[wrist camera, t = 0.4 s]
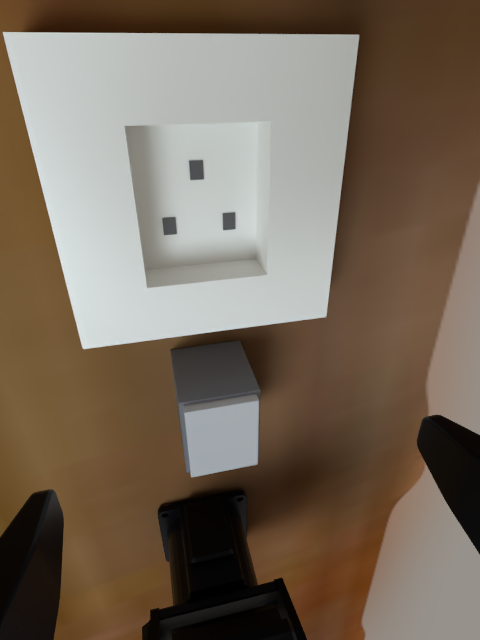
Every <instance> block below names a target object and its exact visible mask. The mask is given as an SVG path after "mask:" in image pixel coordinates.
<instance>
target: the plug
mask: <svg viewBox="0 0 480 640" xmlns="http://www.w3.org/2000/svg"><path fill="white" fill-rule="evenodd" d="M171 358H172V367H173V375H174V384H175V392H176V401H177V409H178V417H179V424H180V431H181V438H182V445H183V452H184V458H185V465H186V472H187V473H189V472H190V473H191V477H196V476H202V475H207V474H212V473H217V472H222V471H227V470H232V469H237V468H242V467H247V466H252V465H257V464H258V459H259V424H260V388H259V386H258V383H257V381H256V378H255V376H254V373H253V371H252V369H251V366H250V364H249V361H248V359H247V357H246V354H245V352H244V349H243V347H242V344H241V342H240V341H232V342H225V343H218V344H211V345H203V346H196V347H189V348H182V349H174V350H171Z"/></svg>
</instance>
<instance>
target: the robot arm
mask: <svg viewBox="0 0 480 640" xmlns="http://www.w3.org/2000/svg"><path fill="white" fill-rule="evenodd" d="M417 446H418V449H419V451H420V453H421V455H422V457H423V459H424V461H425V463H426V465H427V466H428V468H429V470H430V472H431V474H432V476H433V478H434V480H435V482H436V484H437V486H438V488H439V489H440V491H441V493H442V495H443V497H444V499H445V501H446V502H447V504H448V506H449V507H450V509H451V511H452V512H453V514H454V515H455V517H456V518H457V520H458V521H459V523H460V524H461V526H462V528H463V529H464V531H465V532H466V534H467V535H468V537H469V538H470V540H471V542H472V543H473V545H474V546H475V548H476V549H477V551H478V552H479V554H480V435H478V434H476V433H474V432H472V431H470V430H468V429H467V428H465V427H463V426H461V425H459V424H457V423H455V422H453V421H451V420H449V419H447V418H445V417H443V416H441V415H433V416H428V417H425V418H424V419H423V420H422V422H421V426H420V430H419V433H418V437H417ZM158 519H159V525H160V530H161V536H162V541H163V547H164V552H165V557H166V561H168V562H170V573H171V585H172V596H173V606H171V607H167V608H163V609H159V608H156V609H152V610H150V620H149V622H148V623H147V624H145V625H144V626H143V627H142V640H307V639H306V636H305V633H304V631H303V628H302V626H301V623H300V621H299V618H298V616H297V613H296V611H295V608H294V606H293V603H292V601H291V598H290V596H289V594H288V591H287V589H286V586H285V584H284V581H283V579H282V578H278V579H274V581H273V582H269V583H265V584H261V585H258V583H257V579H256V575H255V571H254V567H253V563H252V559H251V555H250V551H249V547H248V543H247V498H246V494H245V492H244V491H242V490H240V491H234V492H230V493H225V494H220V495H215V496H210V497H206V498H201V499H196V500H191V501H186V502H182V503H177V504H172V505H167V506H163V507H161V508H159V509H158ZM63 528H64V518H63V512H62V509H61V507H60V504H59V501H58V498H57V495H56V493H55V491H54V490H52V489H49V490H44V491H39V492H35V493H33V494H32V495H31V496H30V497H29V499H28V500H27V501H26V503H25V504H24V505H23V507H22V508H21V510H20V511H19V512H18V514H17V515H16V516H15V518H14V519H13V521H12V522H11V523H10V525H9V526H8V527H7V529H6V530H5V531H4V533H3V534H2V536H1V537H0V640H53V639H54V633H55V627H56V620H57V614H58V607H59V600H60V588H61V569H62V548H63Z"/></svg>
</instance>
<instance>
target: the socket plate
mask: <svg viewBox="0 0 480 640" xmlns="http://www.w3.org/2000/svg"><path fill="white" fill-rule="evenodd" d="M3 35H4V39H5V43H6V47H7V51H8V55H9V59H10V63H11V67H12V71H13V75H14V79H15V83H16V87H17V91H18V95H19V99H20V103H21V107H22V110H23V114H24V118H25V122H26V126H27V130H28V134H29V138H30V142H31V146H32V150H33V154H34V158H35V162H36V166H37V170H38V174H39V178H40V182H41V186H42V190H43V194H44V198H45V201H46V205H47V209H48V213H49V217H50V221H51V225H52V229H53V233H54V237H55V241H56V245H57V249H58V253H59V257H60V261H61V265H62V269H63V273H64V277H65V281H66V285H67V288H68V292H69V296H70V300H71V304H72V308H73V312H74V316H75V320H76V324H77V328H78V332H79V336H80V340H81V344H82V348H83V349H88V348H95V347H103V346H110V345H118V344H126V343H133V342H141V341H148V340H156V339H163V338H171V337H179V336H186V335H194V334H201V333H209V332H216V331H224V330H232V329H239V328H247V327H254V326H262V325H269V324H277V323H285V322H292V321H300V320H307V319H315V318H323V317H326V314H327V306H328V297H329V289H330V280H331V272H332V263H333V255H334V246H335V238H336V229H337V221H338V212H339V204H340V195H341V187H342V178H343V170H344V161H345V153H346V145H347V136H348V128H349V119H350V111H351V102H352V94H353V85H354V77H355V68H356V60H357V51H358V43H359V35H341V34H198V33H54V32H3Z"/></svg>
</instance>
